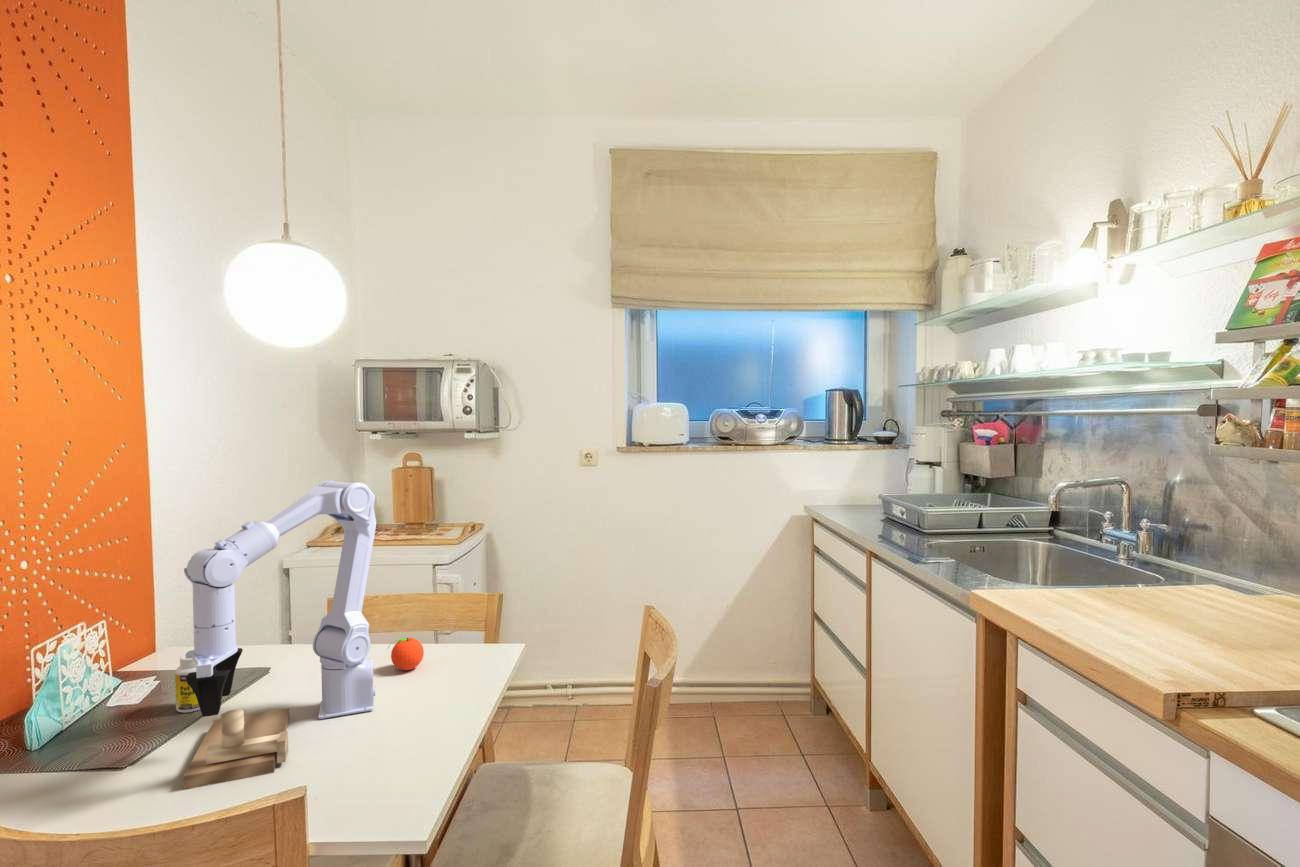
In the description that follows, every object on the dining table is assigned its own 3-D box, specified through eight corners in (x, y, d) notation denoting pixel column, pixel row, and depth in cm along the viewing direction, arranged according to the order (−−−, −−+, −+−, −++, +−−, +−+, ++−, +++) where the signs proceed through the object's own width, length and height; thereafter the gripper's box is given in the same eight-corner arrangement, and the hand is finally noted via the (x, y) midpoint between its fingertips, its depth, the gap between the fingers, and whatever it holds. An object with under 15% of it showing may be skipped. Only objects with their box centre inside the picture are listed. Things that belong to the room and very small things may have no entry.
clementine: (381, 675, 142) (380, 643, 142) (393, 663, 149) (393, 632, 149) (417, 675, 142) (417, 643, 142) (428, 663, 149) (427, 632, 149)
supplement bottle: (175, 716, 123) (173, 663, 123) (176, 705, 128) (175, 654, 127) (210, 709, 126) (209, 657, 126) (211, 698, 131) (209, 648, 131)
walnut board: (289, 718, 122) (289, 707, 122) (274, 772, 103) (273, 759, 103) (214, 730, 117) (214, 719, 117) (183, 789, 99) (183, 775, 99)
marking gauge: (288, 751, 108) (287, 700, 108) (285, 761, 105) (284, 709, 105) (210, 765, 104) (209, 712, 104) (205, 776, 101) (203, 722, 101)
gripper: (197, 613, 111) (199, 691, 111) (171, 640, 98) (173, 729, 98) (245, 608, 114) (247, 685, 114) (226, 633, 100) (228, 720, 101)
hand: (216, 705), depth 106 cm, fingers open, 7 cm apart
